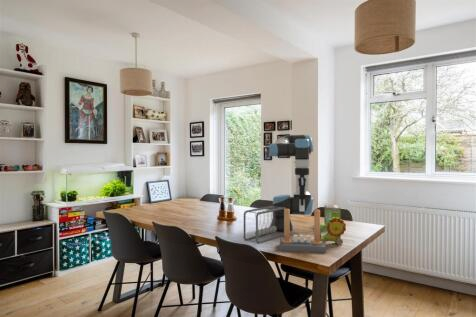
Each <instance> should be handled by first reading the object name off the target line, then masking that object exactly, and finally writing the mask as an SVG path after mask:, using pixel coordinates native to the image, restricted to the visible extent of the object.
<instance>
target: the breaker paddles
mask: <svg viewBox="0 0 476 317" xmlns="http://www.w3.org/2000/svg"><path fill="white" fill-rule="evenodd" d="M311 237H312V235H311V234H310V235H309V234H308V235H307V234H306V240H307V241H306V240H305V235H304V234H299V239H298V234H293V240H294V242H299V243H311Z"/></svg>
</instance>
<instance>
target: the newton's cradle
mask: <svg viewBox="0 0 476 317" xmlns="http://www.w3.org/2000/svg"><path fill="white" fill-rule="evenodd" d="M282 209H286V208H285V207H283V208H282V207H277V209H275V208H274V206H273V205H269V206H264V207H259V208H254V209H248V210H245V211H244V213H243V240H244V241H249V242H253V243H257V244H262V243H265V242H268V241H271V240H273V239H278V238H280V237H283V236H284V233H282V232H277V231H276V230H277V228H276V226H275V217H276V215H275V211H277V210H282ZM247 213H252V214H254V216H255V232H254V235H255V236H250V237H247V238H246V226H247V225H246V214H247ZM270 213H271V214H270ZM262 214H263V218H265V215H267V217H269V215H271V218H270V219H271V222H273V226H272V227H270V226H271V223H270V222H269V219H267V220H266V221H267V222H265V219H263V224H265V223H267V224H269V226H268V225H265V226H264V227H263V226H260V228H261V229H260V228H259V225H261V223H262V222H261V220H259V219H261V216H262ZM272 219H273V221H272ZM267 226H268V227H267ZM272 233H273V234H278V235H275V236H272V237H269V238H266V239H262V240H259V238H260V237H264V236H266V235H269V234H272ZM253 239H255V240H253Z"/></svg>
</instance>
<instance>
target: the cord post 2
mask: <svg viewBox="0 0 476 317" xmlns="http://www.w3.org/2000/svg"><path fill="white" fill-rule="evenodd" d="M313 211H314V212H313V213H314V214H313V218H314V219H313V222H314V223H313V224H314V225H313V226H314V227H313V228H314V230H313V231H314V232H313V233H314V235H313V236H314V237H313V241H312V244H315V245H321V244H322V241H320V226H321V210H320V209H314V210H313Z"/></svg>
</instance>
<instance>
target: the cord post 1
mask: <svg viewBox="0 0 476 317" xmlns="http://www.w3.org/2000/svg"><path fill="white" fill-rule="evenodd" d="M290 219H291V214H290V209H284V232H283V234H284V237H283V239H284V240H282V242H283V243H286V244H289V243H292V240H293V239H290V238H291V234H290V233H291V231H290Z"/></svg>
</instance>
